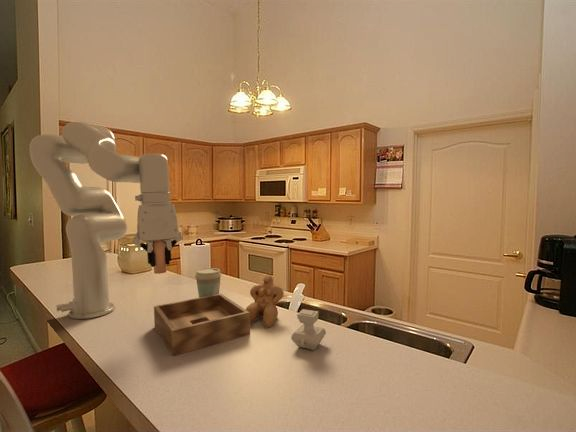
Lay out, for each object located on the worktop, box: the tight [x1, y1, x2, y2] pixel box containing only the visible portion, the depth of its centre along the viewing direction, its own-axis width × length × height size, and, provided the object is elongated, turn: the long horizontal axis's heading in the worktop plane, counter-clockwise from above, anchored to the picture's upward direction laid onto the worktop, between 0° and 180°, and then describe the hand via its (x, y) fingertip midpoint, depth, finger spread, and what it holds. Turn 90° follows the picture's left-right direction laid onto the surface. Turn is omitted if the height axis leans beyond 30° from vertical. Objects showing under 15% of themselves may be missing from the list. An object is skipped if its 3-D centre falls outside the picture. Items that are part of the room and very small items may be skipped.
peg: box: [152, 240, 167, 275], centre depth 89 cm, size 3×3×10 cm
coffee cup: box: [195, 267, 222, 298], centre depth 108 cm, size 9×8×12 cm
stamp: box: [290, 308, 327, 351], centre depth 79 cm, size 9×7×8 cm
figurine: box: [245, 274, 285, 329], centre depth 96 cm, size 11×9×15 cm
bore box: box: [153, 293, 251, 357], centre depth 88 cm, size 20×20×6 cm
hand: (159, 264), depth 89 cm, fingers closed on peg, 3 cm apart
